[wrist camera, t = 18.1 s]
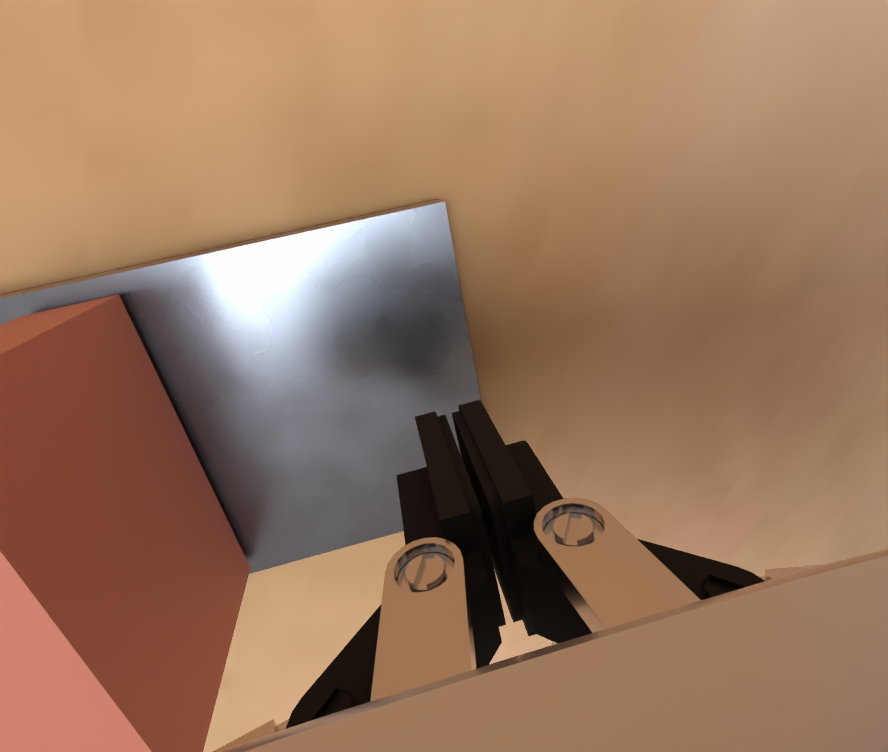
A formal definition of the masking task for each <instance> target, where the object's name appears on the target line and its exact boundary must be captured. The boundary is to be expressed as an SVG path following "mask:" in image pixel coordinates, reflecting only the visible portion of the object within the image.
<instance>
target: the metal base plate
mask: <svg viewBox="0 0 888 752" xmlns="http://www.w3.org/2000/svg"><path fill="white" fill-rule="evenodd" d="M118 294H119V296H120V298H121V300H122V302H123V304H124V306H125V308H126V310H127V312H128V314H129V317H130V319H131V321H132V323H133V325H134V327H135V329H136V331H137V333H138V335H139V337H140V339H141V341H142V344H143V346H144V348H145V350H146V352H147V354H148V356H149V358H150V360H151V362H152V364H153V366H154V368H155V371H156V373H157V375H158V377H159V379H160V381H161V383H162V385H163V387H164V389H165V391H166V393H167V395H168V398H169V400H170V402H171V404H172V406H173V408H174V410H175V412H176V414H177V416H178V418H179V420H180V423H181V425H182V427H183V429H184V431H185V433H186V435H187V437H188V439H189V441H190V443H191V445H192V447H193V450H194V452H195V454H196V456H197V458H198V460H199V462H200V464H201V466H202V468H203V470H204V472H205V474H206V477H207V479H208V481H209V483H210V485H211V487H212V489H213V491H214V493H215V495H216V497H217V499H218V501H219V504H220V506H221V508H222V510H223V512H224V514H225V516H226V518H227V520H228V522H229V524H230V526H231V529H232V531H233V533H234V535H235V537H236V539H237V541H238V543H239V545H240V547H241V549H242V551H243V553H244V556H245V558H246V560H247V562H248V564H249V566H250V571H249V574H250V573H254V572H257V571H261V570H264V569H268V568H272V567H275V566H279V565H282V564H286V563H290V562H293V561H297V560H300V559H304V558H308V557H311V556H315V555H318V554H322V553H326V552H329V551H333V550H336V549H340V548H344V547H347V546H351V545H354V544H358V543H362V542H365V541H369V540H372V539H376V538H380V537H383V536H387V535H390V534H394V533H398V532H401V531H404V529H403V521H402V514H401V507H400V499H399V492H398V484H397V475H398V474H402V473H406V472H409V471H413V470H417V469H420V468H424V467H427V465H426V461H425V457H424V453H423V449H422V445H421V441H420V437H419V433H418V429H417V425H416V421H415V416H419V415H423V414H427V413H430V412H434V411H436V414H437V417H438V416H441V415H446V418H447V420H448V423H449V426H450V428H451V431H452V433H453V436H454V439H455V441H456V444H457V447H458V449H459V445H458V440H457V436H456V431H455V427H454V422H453V418H452V413H453V412H457V411H459V407H458V405H461V404H465V403H469V402H472V401H476V400H480V401H481V398H480V392H479V387H478V381H477V376H476V370H475V365H474V359H473V353H472V348H471V342H470V337H469V331H468V326H467V320H466V315H465V309H464V304H463V298H462V293H461V287H460V282H459V276H458V271H457V265H456V259H455V254H454V248H453V243H452V237H451V232H450V226H449V221H448V215H447V210H446V204H445V201H442V200H438V199H435V200H430V201H426V202H421V203H417V204H412V205H407V206H403V207H398V208H394V209H389V210H385V211H380V212H376V213H371V214H366V215H362V216H357V217H353V218H348V219H344V220H339V221H334V222H330V223H325V224H321V225H316V226H312V227H307V228H302V229H298V230H293V231H289V232H284V233H280V234H275V235H271V236H266V237H261V238H257V239H252V240H248V241H243V242H239V243H234V244H229V245H225V246H220V247H216V248H211V249H207V250H202V251H197V252H193V253H188V254H184V255H179V256H175V257H170V258H166V259H161V260H156V261H152V262H147V263H143V264H138V265H134V266H129V267H124V268H120V269H115V270H111V271H106V272H102V273H97V274H92V275H88V276H83V277H79V278H74V279H70V280H65V281H61V282H56V283H51V284H47V285H42V286H38V287H33V288H29V289H24V290H19V291H15V292H10V293H6V294H1V295H0V325H2V324H4V323H6V322H9V321H11V320H13V319H16V318H18V317H20V316H24V315H28V314H33V313H37V312H42V311H46V310H51V309H55V308H60V307H64V306H69V305H73V304H77V303H82V302H86V301H91V300H95V299H100V298H104V297H109V296H113V295H118ZM459 452H460V449H459ZM460 455H461V454H460Z"/></svg>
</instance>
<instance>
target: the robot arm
mask: <svg viewBox="0 0 888 752" xmlns="http://www.w3.org/2000/svg"><path fill="white" fill-rule="evenodd" d="M458 407H459V411H457V412H453V413H452V418H453V422H454V427H455V431H456V436H457V440H458V445H459V449H460V452H459V449H458V447H457V444H456V441H455V439H454V436H453V433H452V431H451V428H450V426H449V423H448V420H447V418H446V415H441V416H438V417H437V414H436V411H434V412H430V413H427V414H423V415H419V416H415V421H416V425H417V429H418V433H419V437H420V441H421V445H422V449H423V453H424V457H425V461H426V465H427V467H424V468H420V469H417V470H413V471H409V472H406V473H402V474H398V475H397V484H398V492H399V499H400V507H401V514H402V521H403V529H404V536H405V543H406V545H405V546H403V547H402V548H401V549H400V550H399V551H397V552H396V553H395V554H394V555H393V557H392V558H391V560H390V561H389V563H388V565H387V569H386V572H385V579H384V588H383V596H382V604H381V605H380V606H379V608H378V609H377V610H376V611H375V612H374V613H373V615H372V616H371V617H370V618H369V619H368V621H367V622H366V623H365V624H364V625H363V626H362V628H361V629H360V630H359V631H358V632H357V633H356V635H355V636H354V637H353V638H352V639H351V640H350V642H349V643H348V644H347V645H346V646H345V648H344V649H343V650H342V651H341V652H340V653H339V655H338V656H337V657H336V658H335V659H334V660H333V662H332V663H331V664H330V665H329V666H328V668H327V669H326V670H325V671H324V672H323V673H322V675H321V676H320V677H319V678H318V679H317V680H316V682H315V683H314V684H313V685H312V686H311V687H310V689H309V690H308V691H307V692H306V693H305V695H304V696H303V697H302V698H301V700H300V701H299V703H298V704H297V705H296V707H295V708H294V710H293V711H292V714H291V716H290V719H288V720H286V721H284V722H283V723H281V724H279V725H276V723H275V721H274V720H271V721H269V722H267V723H265V724H264V725H262V726H260V727H258V728H256V729H254V730H252V731H251V732H249V733H247V734H245V735H243V736H241V737H239V738H238V739H236V740H234V741H232V742H230V743H228V744H226V745H225V746H223V747H221V748H219V749H217V750H215V751H213V752H888V550H883V551H878V552H874V553H870V554H866V555H863V556H859V557H854V558H850V559H846V560H841V561H837V562H833V563H829V564H826V565H816V566H804V567H792V568H781V569H769V570H766V571H765V577H758V576H756V575H755V574H753V573H752V572H749V571H747V570H744V569H741V568H739V567H736V566H733V565H729V564H725V563H722V562H718V561H715V560H711V559H707V558H704V557H700V556H697V555H693V554H689V553H686V552H682V551H679V550H675V549H672V548H668V547H664V546H661V545H657V544H654V543H650V542H646V541H643V540H639V539H636V538H635V537H634V536H633V535H632V534H631V533H630V532H629V531H628V530H627V529H626V528H625V527H624V526H623V525H622V524H621V523H620V522H619V521H617V520H616V519H615V518H614V517H613V516H612V515H611V514H610V513H609V512H608V511H607V510H606V509H604V508H603V507H602V506H600V505H599V504H597V503H594V502H592V501H589V500H586V499H579V498H567V499H563V497H562V496H561V494H560V492H559V491H558V489H557V488H556V486H555V485H554V483H553V482H552V480H551V479H550V477H549V475H548V474H547V472H546V471H545V469H544V468H543V466H542V465H541V463H540V462H539V460H538V458H537V457H536V455H535V454H534V452H533V451H532V449H531V448H530V446H529V445H528V443H527V442H526V441H520V442H516V443H513V444H509V445H505V444H504V442H503V440H502V438H501V437H500V435H499V433H498V431H497V429H496V428H495V426H494V424H493V422H492V420H491V419H490V417H489V415H488V413H487V411H486V410H485V408H484V406H483V404H482V403H481V401H480V400H476V401H472V402H469V403H465V404H461V405H458ZM460 454H461V455H460ZM494 569H495V571H494ZM495 572H496V575H497V578H498V580H499V583H500V586H501V589H502V592H503V595H504V597H505V600H506V603H507V606H508V609H509V612H510V614H511V617H512V620H513V622H516V621H519V620H523V622H524V625H525V628H526V630H527V633H528V636H531V635H535V634H538V635H540V636H542V637H545V638H547V639H549V640H551V641H552V646H549V647H545V648H542V649H539V650H536V651H532V652H529V653H526V654H522V655H519V656H516V657H513V658H509V659H506V660H503V661H500V662H496V663H493V664H490V665H489V663H490V661H491V660H492V658H493V656H494V655H495V653H496V651H497V649H498V648H499V646H500V644H501V643H502V641H501V636H500V632H499V626H503V625H506V623H505V618H504V613H503V608H502V604H501V599H500V594H499V590H498V585H497V580H496V576H495Z"/></svg>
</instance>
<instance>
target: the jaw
mask: <svg viewBox="0 0 888 752" xmlns="http://www.w3.org/2000/svg"><path fill="white" fill-rule="evenodd" d="M249 571H250V566H249V564H248V562H247V560H246V558H245V556H244V553H243V551H242V549H241V547H240V545H239V543H238V541H237V539H236V537H235V535H234V533H233V531H232V529H231V526H230V524H229V522H228V520H227V518H226V516H225V514H224V512H223V510H222V508H221V506H220V504H219V501H218V499H217V497H216V495H215V493H214V491H213V489H212V487H211V485H210V483H209V481H208V479H207V477H206V474H205V472H204V470H203V468H202V466H201V464H200V462H199V460H198V458H197V456H196V454H195V452H194V450H193V447H192V445H191V443H190V441H189V439H188V437H187V435H186V433H185V431H184V429H183V427H182V425H181V423H180V420H179V418H178V416H177V414H176V412H175V410H174V408H173V406H172V404H171V402H170V400H169V398H168V395H167V393H166V391H165V389H164V387H163V385H162V383H161V381H160V379H159V377H158V375H157V373H156V371H155V368H154V366H153V364H152V362H151V360H150V358H149V356H148V354H147V352H146V350H145V348H144V346H143V344H142V341H141V339H140V337H139V335H138V333H137V331H136V329H135V327H134V325H133V323H132V321H131V319H130V317H129V314H128V312H127V310H126V308H125V306H124V304H123V302H122V300H121V298H120V296H119V294H118V295H113V296H109V297H104V298H100V299H95V300H91V301H86V302H82V303H77V304H73V305H69V306H64V307H60V308H55V309H51V310H46V311H42V312H37V313H33V314H28V315H24V316H20V317H18V318H16V319H13V320H11V321H9V322H6V323H4V324H2V325H0V752H203V749H204V745H205V741H206V737H207V734H208V730H209V726H210V722H211V718H212V714H213V710H214V706H215V703H216V699H217V695H218V691H219V687H220V683H221V679H222V675H223V672H224V668H225V664H226V660H227V656H228V652H229V648H230V644H231V641H232V637H233V633H234V629H235V625H236V621H237V617H238V613H239V610H240V606H241V602H242V598H243V594H244V590H245V586H246V582H247V578H248V575H249Z"/></svg>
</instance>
